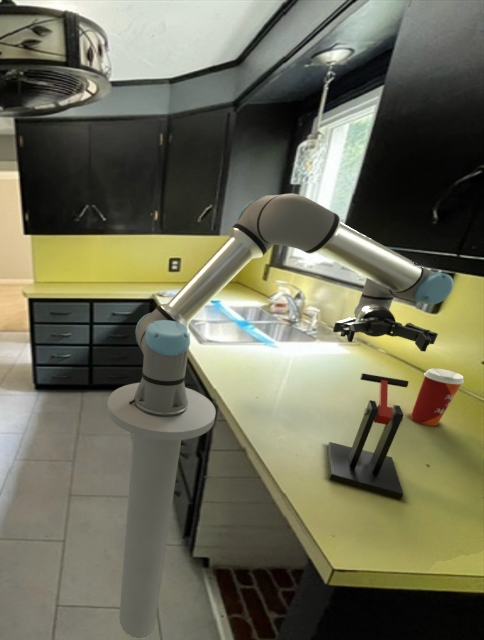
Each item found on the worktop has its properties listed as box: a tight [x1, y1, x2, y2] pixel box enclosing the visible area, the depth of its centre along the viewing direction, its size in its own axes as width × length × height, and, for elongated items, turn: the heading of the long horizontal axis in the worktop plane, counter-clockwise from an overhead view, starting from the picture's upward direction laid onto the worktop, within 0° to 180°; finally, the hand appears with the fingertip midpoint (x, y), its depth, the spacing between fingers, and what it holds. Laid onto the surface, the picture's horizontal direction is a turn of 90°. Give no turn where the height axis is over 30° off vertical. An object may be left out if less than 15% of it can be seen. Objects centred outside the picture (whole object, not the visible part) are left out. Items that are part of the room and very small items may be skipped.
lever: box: [360, 373, 410, 426], centre depth 76 cm, size 12×8×2 cm, turn 150°
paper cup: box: [410, 368, 465, 427], centre depth 96 cm, size 8×8×14 cm
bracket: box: [327, 399, 405, 501], centre depth 76 cm, size 14×12×16 cm
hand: (387, 340), depth 84 cm, fingers open, 13 cm apart
